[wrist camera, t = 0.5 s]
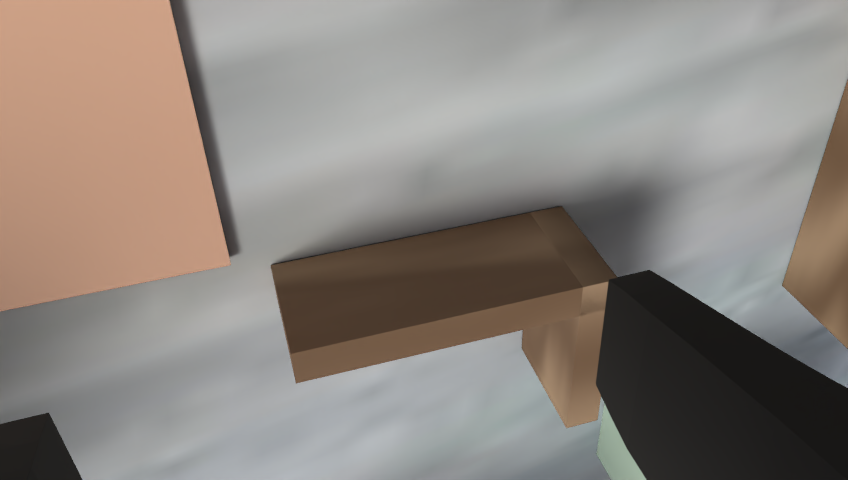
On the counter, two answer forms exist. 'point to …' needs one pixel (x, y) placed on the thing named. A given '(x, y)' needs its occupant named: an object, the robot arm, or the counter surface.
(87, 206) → the tile
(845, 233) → the channel
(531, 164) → the counter surface
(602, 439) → the sage block
